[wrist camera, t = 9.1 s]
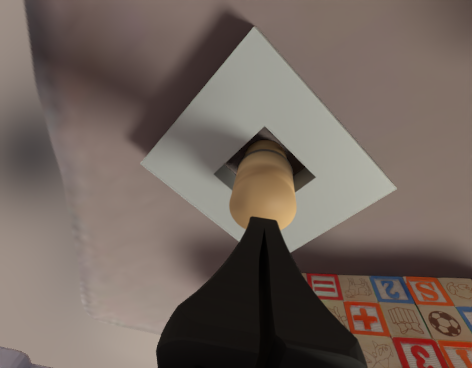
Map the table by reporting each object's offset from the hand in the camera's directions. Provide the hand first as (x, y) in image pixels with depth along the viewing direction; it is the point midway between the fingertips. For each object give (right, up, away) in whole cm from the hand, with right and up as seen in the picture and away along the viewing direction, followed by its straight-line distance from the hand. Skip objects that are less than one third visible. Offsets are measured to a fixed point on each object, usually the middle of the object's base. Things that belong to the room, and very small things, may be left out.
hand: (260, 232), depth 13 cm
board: (+1, +4, +7) cm, 9 cm away
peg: (+1, +4, +7) cm, 9 cm away
